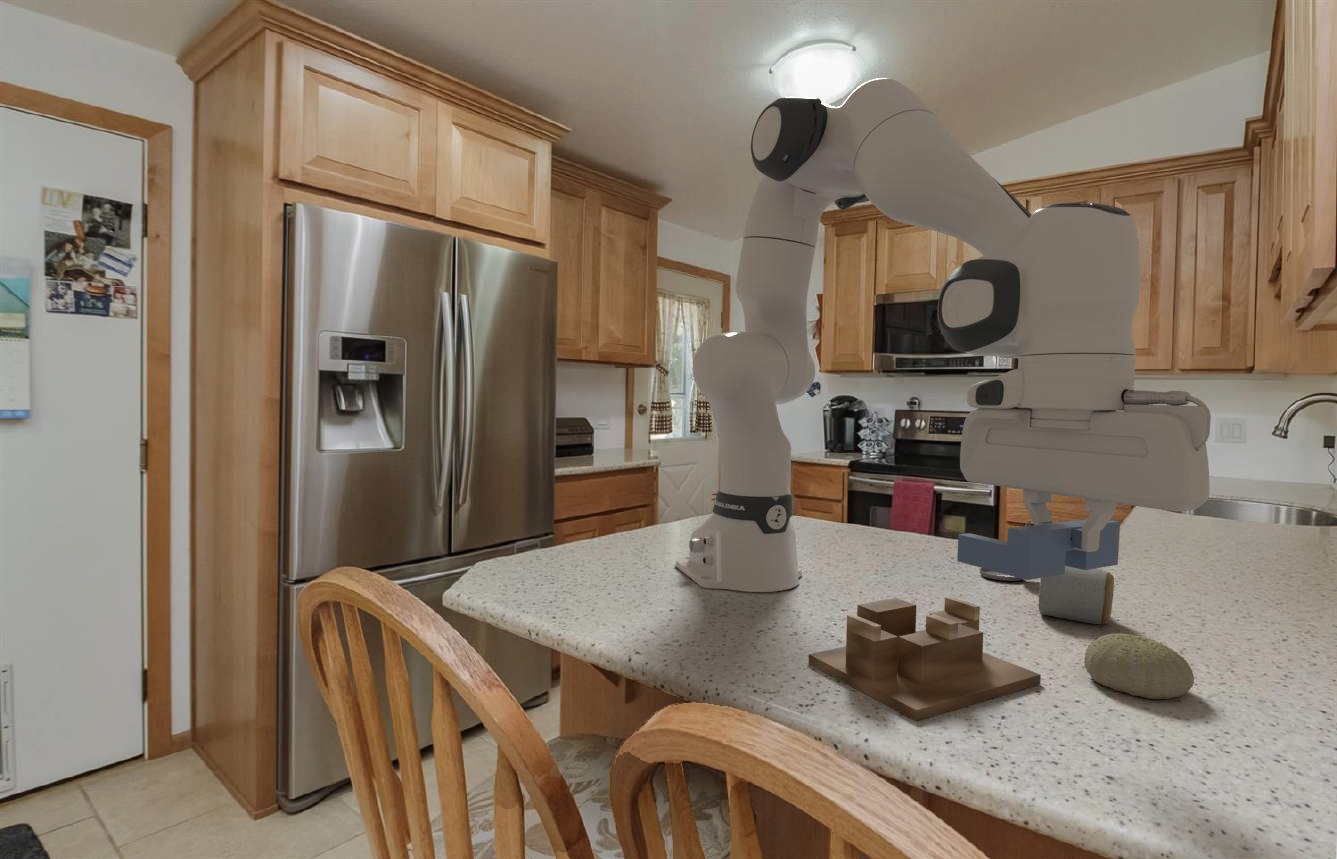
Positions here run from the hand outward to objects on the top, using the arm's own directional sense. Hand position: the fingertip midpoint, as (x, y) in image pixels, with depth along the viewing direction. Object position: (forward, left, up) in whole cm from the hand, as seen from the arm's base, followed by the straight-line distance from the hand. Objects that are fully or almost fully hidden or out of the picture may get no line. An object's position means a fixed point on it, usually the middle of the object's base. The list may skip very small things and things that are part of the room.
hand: (1065, 545), depth 61 cm
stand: (-14, -2, -16) cm, 21 cm away
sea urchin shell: (-2, +16, -17) cm, 23 cm away
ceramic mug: (-18, +33, -17) cm, 41 cm away
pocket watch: (-35, +42, -17) cm, 57 cm away
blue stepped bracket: (-2, 0, -2) cm, 3 cm away
